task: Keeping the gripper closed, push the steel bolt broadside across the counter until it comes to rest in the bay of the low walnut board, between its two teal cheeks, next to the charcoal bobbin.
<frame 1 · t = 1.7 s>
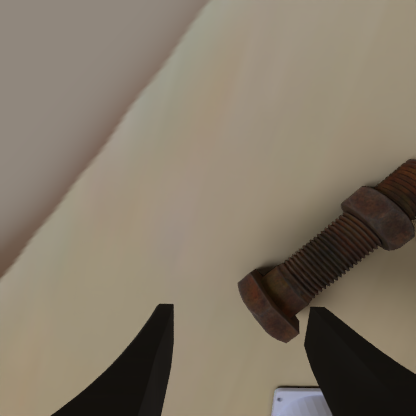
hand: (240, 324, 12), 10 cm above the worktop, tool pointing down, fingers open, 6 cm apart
bolt: (325, 233, 22), on the worktop
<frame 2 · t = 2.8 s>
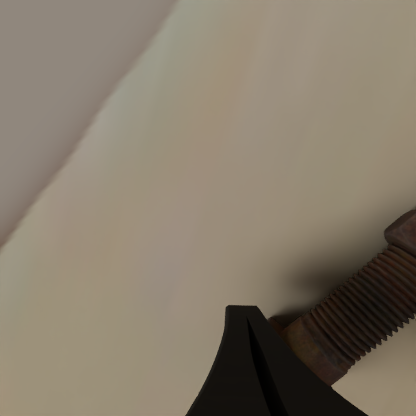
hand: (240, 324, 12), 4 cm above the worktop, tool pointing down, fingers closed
bolt: (362, 268, 17), on the worktop
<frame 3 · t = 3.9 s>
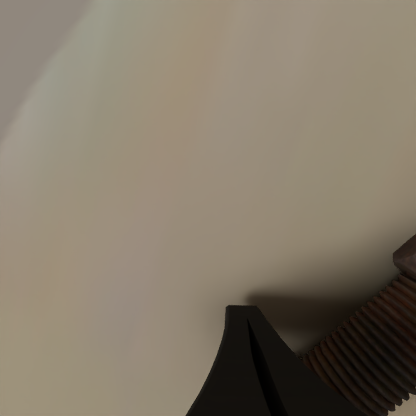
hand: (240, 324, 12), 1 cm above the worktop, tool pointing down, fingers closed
bolt: (366, 299, 14), on the worktop, touching gripper
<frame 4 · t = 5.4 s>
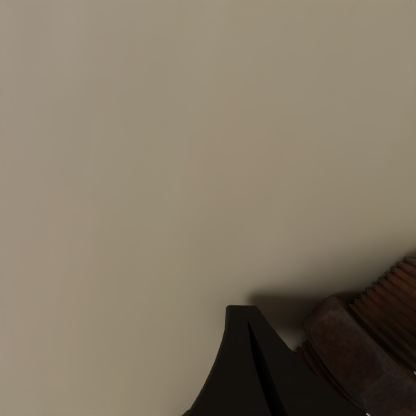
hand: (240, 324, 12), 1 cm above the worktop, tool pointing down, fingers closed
bolt: (290, 352, 14), on the worktop, touching gripper
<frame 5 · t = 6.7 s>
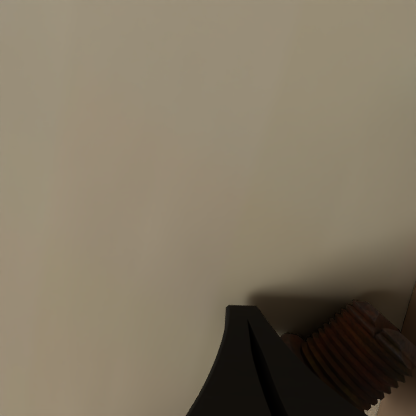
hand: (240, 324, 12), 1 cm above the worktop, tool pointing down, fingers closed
bolt: (252, 383, 15), on the worktop
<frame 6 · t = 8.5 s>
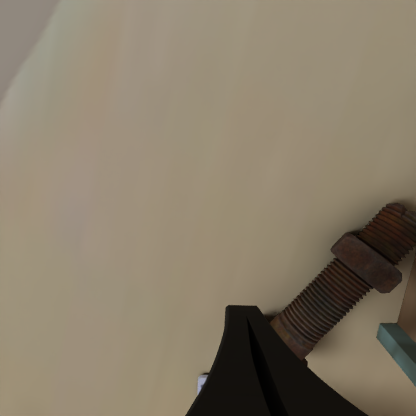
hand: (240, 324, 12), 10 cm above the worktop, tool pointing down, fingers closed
bolt: (322, 274, 23), on the worktop
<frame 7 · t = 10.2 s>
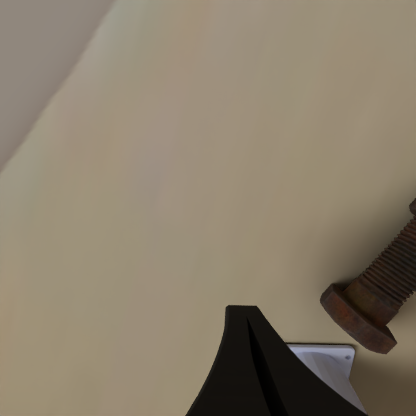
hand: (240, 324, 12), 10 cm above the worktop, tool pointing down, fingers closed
bolt: (396, 236, 22), on the worktop
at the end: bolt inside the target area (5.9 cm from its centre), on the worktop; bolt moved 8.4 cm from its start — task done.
